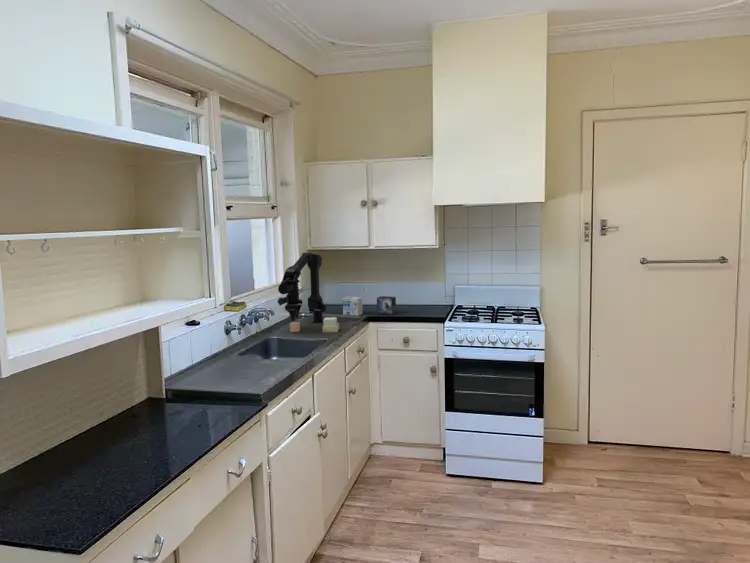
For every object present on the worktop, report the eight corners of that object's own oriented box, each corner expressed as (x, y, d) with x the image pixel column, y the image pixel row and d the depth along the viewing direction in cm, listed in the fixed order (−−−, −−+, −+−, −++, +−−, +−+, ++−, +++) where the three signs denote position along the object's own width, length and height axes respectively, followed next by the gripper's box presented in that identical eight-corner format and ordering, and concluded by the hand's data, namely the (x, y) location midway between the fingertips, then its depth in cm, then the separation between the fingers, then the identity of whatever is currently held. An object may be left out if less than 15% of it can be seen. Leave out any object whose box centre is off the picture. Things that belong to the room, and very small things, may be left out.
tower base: (324, 329, 311) (324, 323, 310) (339, 329, 310) (339, 323, 310) (322, 333, 303) (322, 326, 302) (337, 332, 302) (337, 326, 302)
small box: (376, 314, 349) (376, 297, 348) (381, 312, 355) (380, 295, 353) (391, 315, 344) (391, 298, 343) (396, 313, 350) (396, 296, 348)
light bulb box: (342, 315, 349) (342, 298, 348) (347, 313, 356) (346, 296, 354) (358, 315, 345) (358, 298, 344) (362, 313, 352) (362, 296, 350)
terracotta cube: (291, 330, 311) (291, 322, 310) (299, 330, 311) (299, 322, 310) (290, 332, 306) (289, 323, 306) (298, 331, 306) (298, 323, 306)
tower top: (325, 323, 310) (325, 317, 309) (337, 323, 309) (336, 317, 309) (323, 326, 303) (323, 320, 303) (335, 326, 303) (335, 319, 302)
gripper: (282, 289, 315) (283, 316, 317) (274, 294, 297) (276, 323, 299) (301, 288, 315) (303, 316, 317) (295, 294, 296) (297, 323, 298)
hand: (294, 319), depth 308 cm, fingers open, 9 cm apart
